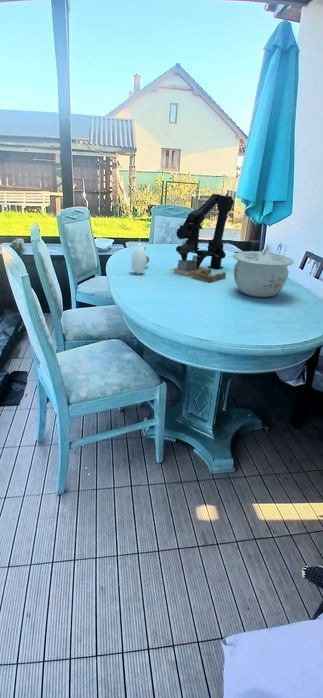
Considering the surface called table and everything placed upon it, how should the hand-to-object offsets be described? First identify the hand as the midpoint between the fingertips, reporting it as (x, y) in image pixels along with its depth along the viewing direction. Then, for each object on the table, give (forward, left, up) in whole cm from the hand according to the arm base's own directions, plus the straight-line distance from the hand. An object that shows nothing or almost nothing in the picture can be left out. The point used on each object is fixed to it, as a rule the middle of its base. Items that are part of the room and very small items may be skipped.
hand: (190, 266), depth 210 cm
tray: (0, 0, -3) cm, 3 cm away
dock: (+2, +14, -3) cm, 15 cm away
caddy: (+2, 0, -2) cm, 3 cm away
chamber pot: (+6, +45, -3) cm, 45 cm away
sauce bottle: (+26, -15, -3) cm, 30 cm away
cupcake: (+15, -24, -3) cm, 28 cm away
